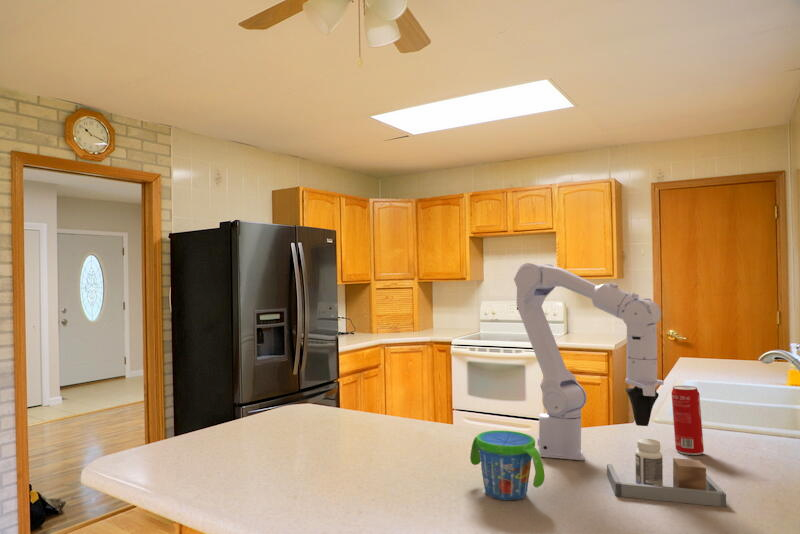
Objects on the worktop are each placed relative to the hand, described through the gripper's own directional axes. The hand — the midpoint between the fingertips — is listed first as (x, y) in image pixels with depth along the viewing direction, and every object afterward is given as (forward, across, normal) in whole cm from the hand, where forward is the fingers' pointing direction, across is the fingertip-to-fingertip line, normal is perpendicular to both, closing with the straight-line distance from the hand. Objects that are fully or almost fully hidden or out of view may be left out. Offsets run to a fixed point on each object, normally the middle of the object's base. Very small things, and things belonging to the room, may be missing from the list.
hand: (641, 425), depth 108 cm
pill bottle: (+10, -6, 0) cm, 12 cm away
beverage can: (+10, +19, -14) cm, 25 cm away
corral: (+10, -8, -2) cm, 13 cm away
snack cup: (+10, -18, +26) cm, 34 cm away
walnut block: (+10, -8, -7) cm, 14 cm away
